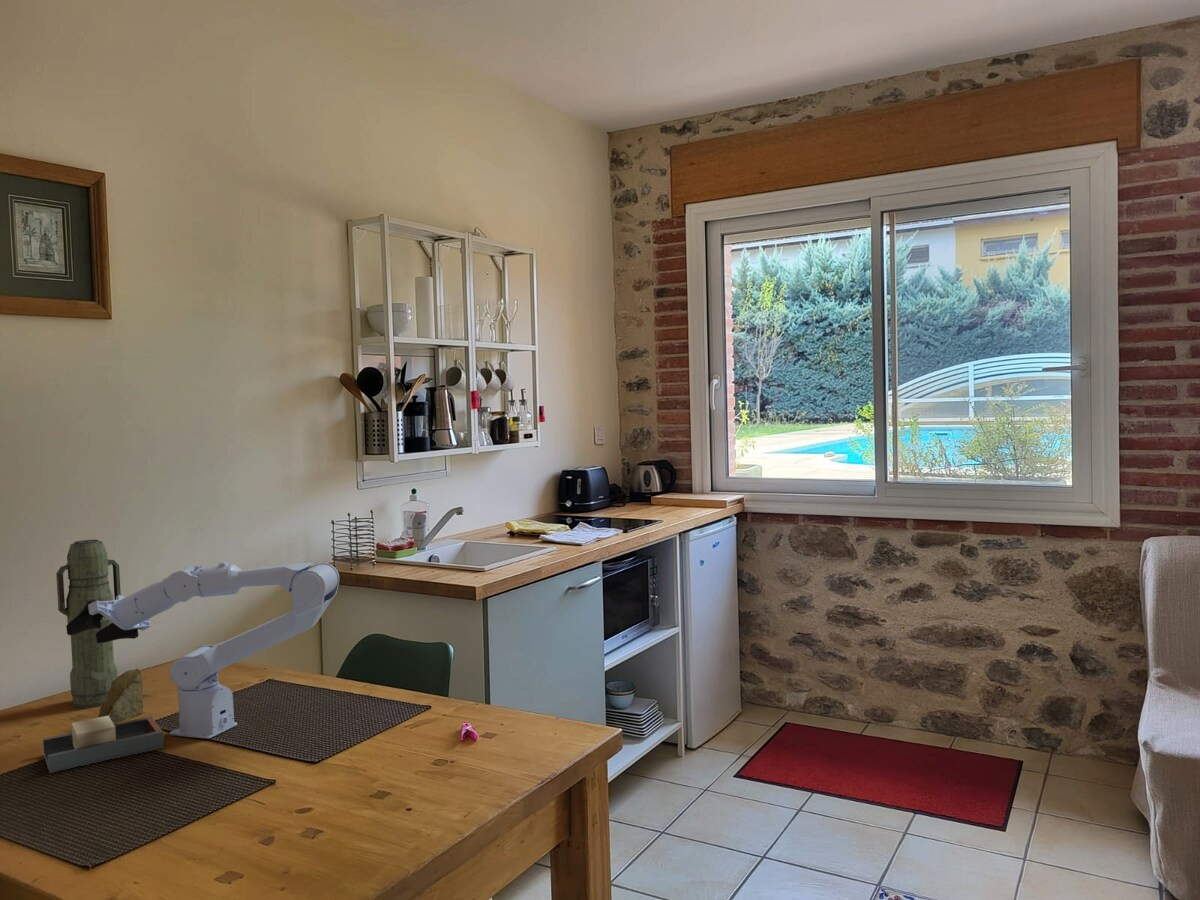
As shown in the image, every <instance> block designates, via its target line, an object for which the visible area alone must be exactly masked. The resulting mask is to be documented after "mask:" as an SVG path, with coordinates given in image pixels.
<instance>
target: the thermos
mask: <svg viewBox="0 0 1200 900" xmlns="http://www.w3.org/2000/svg"><path fill="white" fill-rule="evenodd" d="M67 552H68V553H67V555H66V559H67V560H66V561H67V562H66V565H61V566H60V567H59V569H58V570H57V572H56V573H55V575H56V576H55V577H56V590H57V591H56V592H57V610H58V612H60V613H61V614H62V615H64V616H66V620H67V624H68V623H70V622H71V621H72V620H73V619H74V618H75V617H77V616H78V615H79V614H80V612H81V611H82V610H83V609H84V607H85V605H86V604H87V602H88V601H90V600H92V599H94V600H97V601H101V602H103V601H112V600H116V596H118V595H121V594H122V593H121V579H120V575H121V574H120V564H119V563H117V561H116V560H114V559H109V558H108V552H107V549H106V546H105V544H104V543H103V541H102V540H99V539H85V540H76V541H74V542H73V543H70V545H69V549H68V551H67ZM109 566H112V576H113V578H112V579H113V580H112V581H113V592H112V590H111V588H110V581H109V580H108V576H109ZM66 570H67V578H68V579H67V580H69V581H68V582H69V585H68V592H67V595H66V599H65V584H64V574H65V571H66ZM113 594H114V596H113ZM121 596H122V595H121ZM100 622H101V628H95V629H89V630H85V631H83V632H80V633H77V634H74V635H70V645H71V665H72V668H71V671H70V674H69V679H70V681H69V682H70V695H71V697H72V707H73V706H74V707H73V708H76V707H79V708H78V709H85V708H84V707H90V708H97V707H101V705H102V704H103V702H104V701H105V700H106V697H107V695H108V692H109V691H110V688H111V683H112V681H113V680H115V679H116V678H118V677H119V675H118V668H117V666H116V663H115V658H114V657H115V656H114V640H113V641H108V642H104V643H97V639H96V633H97V632H98V631H100V630H101V629H103V628H104V627H106V626H108V625H110V624H111V623H112V622H111V621H110V620H108V619H107V618H106V617H102V620H100ZM96 706H97V707H96Z"/></svg>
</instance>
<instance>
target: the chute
mask: <svg viewBox="0 0 1200 900" xmlns="http://www.w3.org/2000/svg"><path fill="white" fill-rule="evenodd" d="M114 726H115V731H116V740H115V741H110V742H105V743H101V744H96V745H91V746H87V747H82V748H77V749H74V746H73V739H72V732H68V733H66V734H63V733H62V734H60V735H55V736H49V737H45V738H42V751H43V758H44V760H45V764H46V767H47V770H49V771H48V774H49V773H51V772H56V771H60V770H65V769H69V768H73V767H77V766H82V765H85V764H90V763H94V762H100V761H103V760H108V759H113V758H117V757H121V756H127V755H132V754H136V755H138V754H137V753H141V754H143V753H142V752H145V753H149V752H154V751H158V750H162V749H165V739H164V738H165V737H164V731H163V730H162V728H161V727H160V726H159V724H158V723H157V722H156V720H155V719H154V717H153V716H147V717H143V718H137V719H133V720H129V721H127V720H126V721H121V722H118V723H116V724H114ZM153 750H154V751H153ZM148 751H149V752H148ZM132 756H133V755H132ZM127 757H128V756H127ZM65 771H66V770H65ZM56 773H57V772H56Z"/></svg>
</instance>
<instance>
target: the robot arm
mask: <svg viewBox="0 0 1200 900" xmlns="http://www.w3.org/2000/svg"><path fill="white" fill-rule="evenodd" d="M314 564H315V563H313V562H303V563H302V562H300V563H289V564H281V565H279V564H278V565H273V566H272V565H271V566H265V567H264V566H263V567H258V568H257V567H256V568H249V569H242V568H240V567H239V566H237V565H236V564H229V562H228V561H222V562H219V563H218V565H213V566H205V567H204V566H203V565H202V564H198V565H195V566H189V567H184V568H183V569H180V570H177V571H175V572H173V573H171V574H169V576H167V577H165V578H163V579H162V580H158V581H156V582H153V583H151V584H149V585H147V586H145V587H143V588H141V589H139V590H137V591H135V592H133V593H131V594H130V595H127V596H124V595H118V596H116V600H115V599H113V600H112V601H103V602H101V601H97V600H94V599H92V600H90V601H88V602H87V604H86V605H85V607H84V609H83V610H82V611H81V612H80V614H79V615H78V616H77V617H75V618H74V619H73V620H72V621H71V622H70V623H67V624H66V625H65V626H66V634H67V635H68V636H71V635H74V634H77V633H80V632H83V631H85V630H89V629H95V628H101V622H100V620H102V617H106V618H107V619H108V620H110V621H111V622H112V623H111V624H110V625H108V626H106V627H104V628H103V629H101V630H100V631H98V632H97V633H96V639H97V643H104V642H108V641H113V642H114V641H116V640H126V639H137V638H138V637H139V630H140V631H142V632H143V631H145V630H147V629H149V628H151V618H154V617H155V616H157V615H159V614H161V613H163V612H165V611H168V610H169V609H171V608H173V607H174V606H175V605H176V604H178V603H180V602H181V603H186V602H188V601H190V600H191V599H192V598H194V597H201V598H209V597H210V598H211V597H217V596H218V597H219V596H221V597H222V596H228V595H229V596H230V595H237V593H238V592H239V591H241V589H242V588H243V587H244V588H245V587H246V588H247V587H248V588H249V587H263V586H266V587H267V586H281V588H282V589H283V590H284V591H285V592H287V593H290V592H291V597H292V605H291V608H290V611H289V612H287V613H285V614H283V615H281V616H278V617H276V618H274V619H272V620H271V619H270V620H269V621H267V622H265V623H262V624H260V625H259V626H256V627H253V628H252V629H250V630H247V631H244V632H242V633H240V634H237V635H236V636H234V637H231V638H229V639H227V640H224V641H221V642H219V643H215V644H203V645H200V646H199V647H198V646H197V648H196V649H195V650H193V651H191V652H189V653H187V654H186V655H183V656H180V657H178V658H177V659H175V660H174V661H173V663H172V664H171V666H170V671H169V675H170V679H171V681H172V682H173V684H174V685H175V686H176V687H177V699H178V700H177V701H178V715H179V716H178V719H179V727H178V728H176V729H174V730H171V731H170V732H169V733H168V735H169V736H175V737H185V738H196V739H207V740H209V739H212V738H213V737H216V736H218V735H220V734H221V733H224V732H226V731H228V730H230V729H232V728H234V727H236V726H237V725H238V722H236V721H235V710H234V695H233V692H232V690H231V688H229V687H227V686H223V685H222V684H220V682H219V681H220V680H219V675H218V674H219V672H220V671H221V670H223V669H224V668H227V667H229V666H230V665H233V664H235V663H237V662H239V661H241V660H244V659H246V658H249V657H250V656H253V655H255V654H257V653H259V652H262V651H264V650H266V649H269V648H271V647H274V646H276V645H278V644H280V643H281V642H284V641H286V640H289V639H290V638H293V637H295V636H297V635H300V634H302V633H304V632H307V631H309V630H310V629H311V628H313V627H314V626H315V625H317V623H318V622H319V620H320V619H321V618H322V616H323V614H324V613H325V611H326V609H327V608H328V606H329V605H330V604H331V602H332V600H333V599H334V598H335V597H336V595H337V593H338V590H339V586H340V585H339V584H340V574H339V571H338V570H337V568H336V567H335V566H334V565H332V564H330V563H326V562H318V563H316V564H315V565H314ZM312 565H313V566H312Z"/></svg>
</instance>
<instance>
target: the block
mask: <svg viewBox="0 0 1200 900" xmlns="http://www.w3.org/2000/svg"><path fill="white" fill-rule="evenodd" d="M71 733H72V739H73V746H74V749H77V748H82V747H87V746H91V745H96V744H101V743H105V742H110V741H115V740H116V731H115V726H114V724H113V722H112V720H111V719H110V717H109V716H104V717H99V718H97V717H96V718H95V717H94V718H89V719H84V720H80V721H75V722H74V721H73V722H71Z"/></svg>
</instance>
